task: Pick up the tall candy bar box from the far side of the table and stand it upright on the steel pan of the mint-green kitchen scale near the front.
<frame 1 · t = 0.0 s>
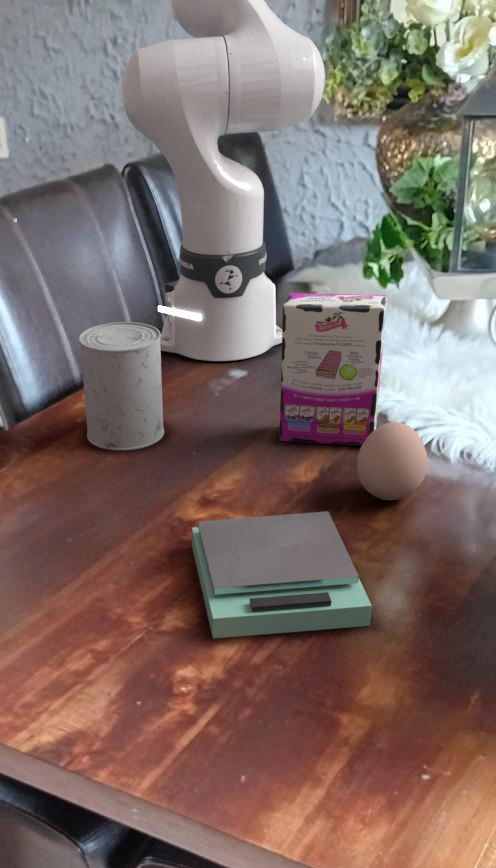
candy bar box: (326, 437, 121), on the table
egg: (387, 498, 108), on the table
tin can: (125, 435, 124), on the table
scale pan: (274, 550, 94), point 3 cm above the table, slide at 0.0 cm
scale: (275, 583, 95), on the table
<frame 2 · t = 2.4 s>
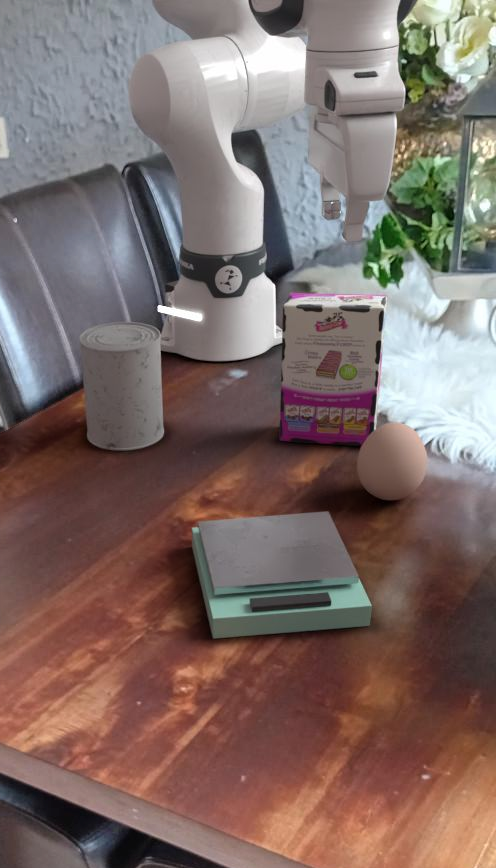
hand: (340, 229, 106), 24 cm above the table, tool pointing down, fingers open, 8 cm apart
nothing on the table moved.
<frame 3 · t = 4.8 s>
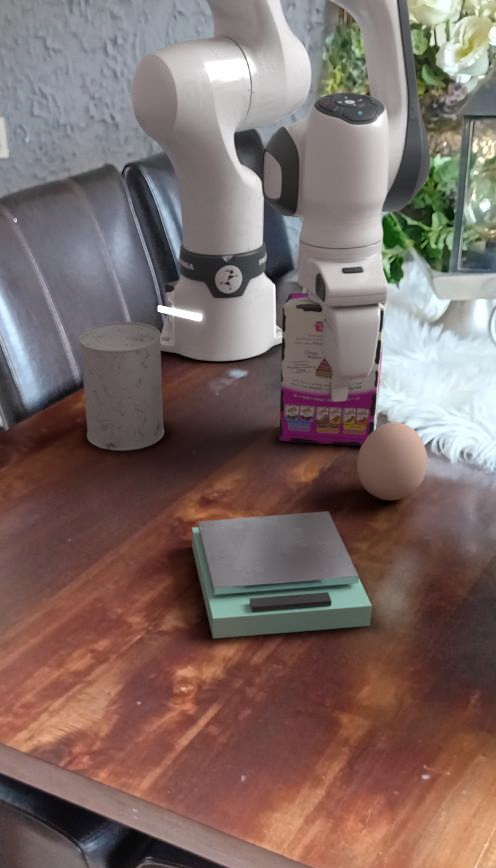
hand: (330, 387, 117), 6 cm above the table, tool pointing down, fingers closed on candy bar box, 6 cm apart
candy bar box: (326, 437, 121), on the table, touching gripper
everything else where it was.
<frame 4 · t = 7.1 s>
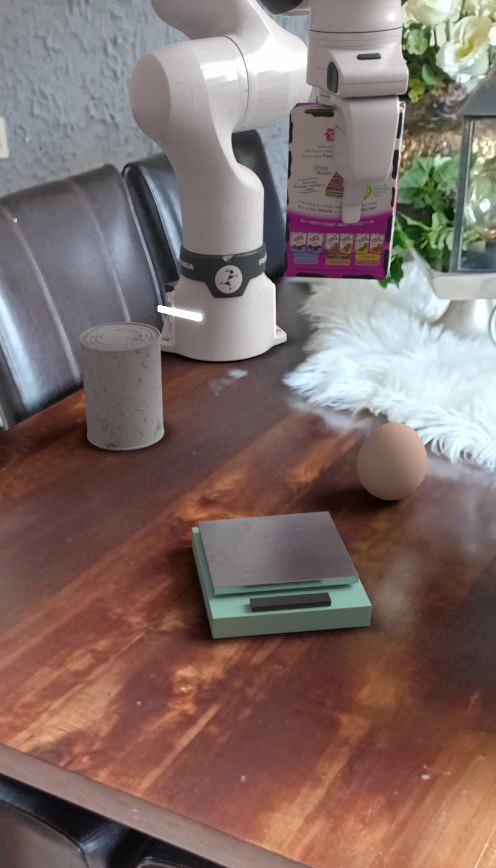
hand: (341, 212, 105), 25 cm above the table, tool pointing down, fingers closed on candy bar box, 6 cm apart
candy bar box: (336, 274, 109), point 19 cm above the table, touching gripper
everything else where it was.
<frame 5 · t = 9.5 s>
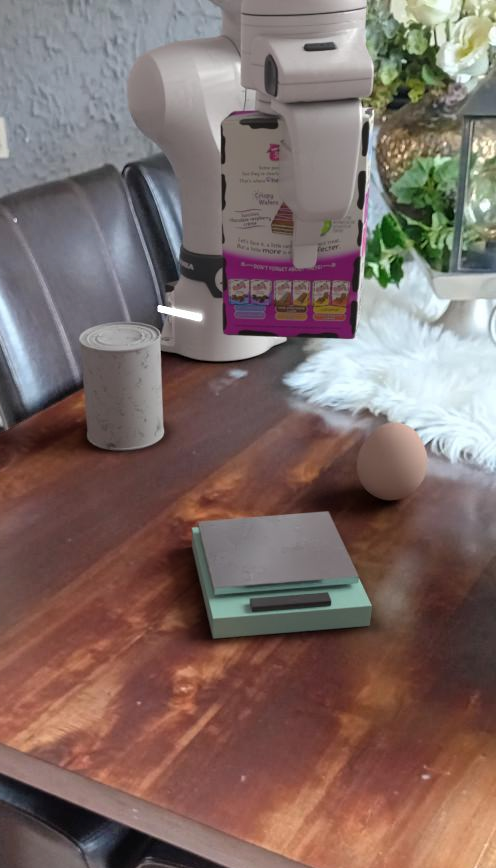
hand: (293, 253, 81), 29 cm above the table, tool pointing down, fingers closed on candy bar box, 6 cm apart
candy bar box: (291, 331, 85), point 23 cm above the table, touching gripper
everything else where it was.
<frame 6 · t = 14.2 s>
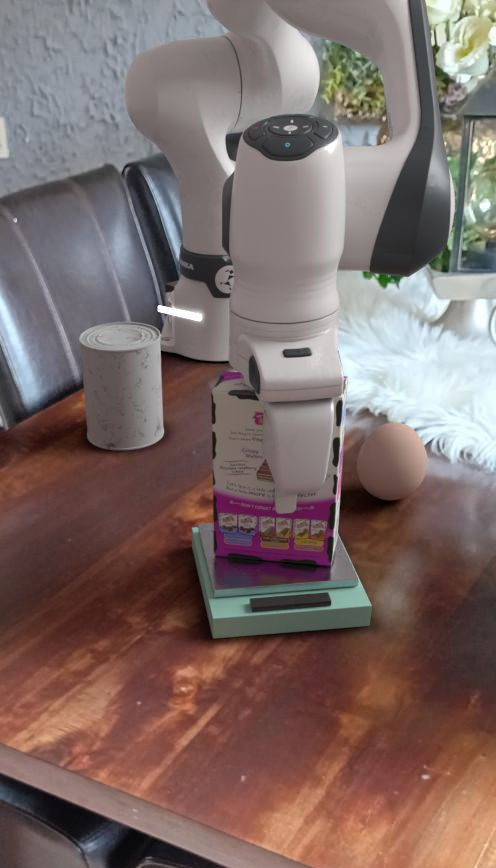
hand: (276, 490, 91), 9 cm above the table, tool pointing down, fingers closed on candy bar box, 6 cm apart
candy bar box: (274, 550, 94), point 3 cm above the table, touching gripper, scale pan
scale pan: (274, 553, 94), point 3 cm above the table, slide at -0.3 cm, touching candy bar box
everything else where it was.
when the fingers open (9 cm above the table, at t = 14.5 s): candy bar box stays where it is, resting on scale pan.
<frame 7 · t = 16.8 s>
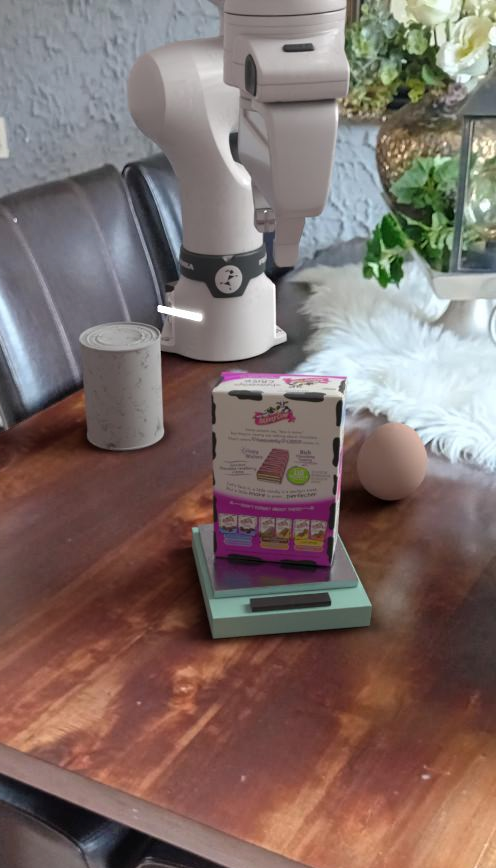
hand: (274, 246, 83), 29 cm above the table, tool pointing down, fingers open, 8 cm apart
candy bar box: (274, 551, 94), point 3 cm above the table, touching scale pan
everything else where it was.
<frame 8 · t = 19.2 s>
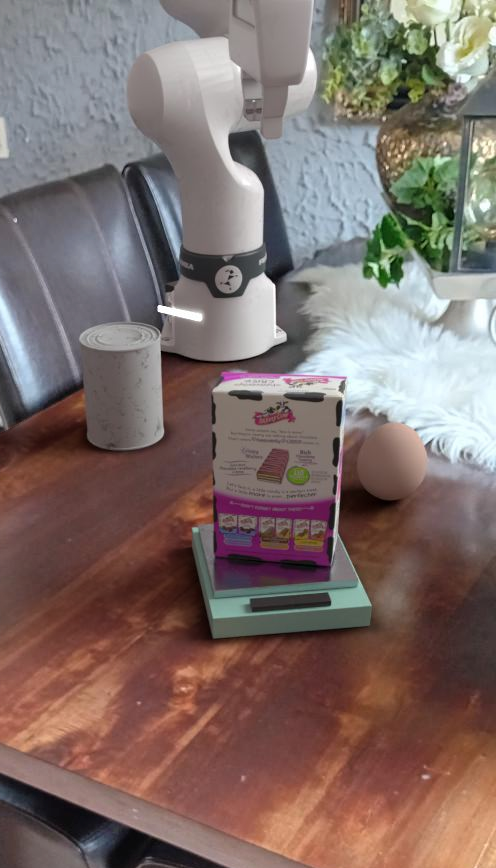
hand: (261, 128, 94), 35 cm above the table, tool pointing down, fingers open, 8 cm apart
nothing on the table moved.
at the end: candy bar box inside the target area on the scale (0.2 cm from its centre), point 2.9 cm above the scale's base; candy bar box tilted 0° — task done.
